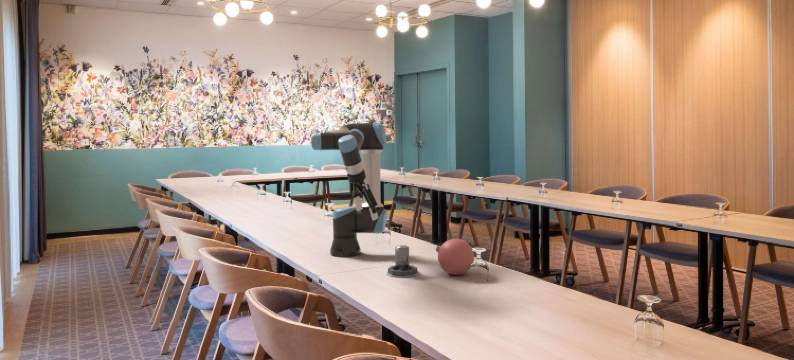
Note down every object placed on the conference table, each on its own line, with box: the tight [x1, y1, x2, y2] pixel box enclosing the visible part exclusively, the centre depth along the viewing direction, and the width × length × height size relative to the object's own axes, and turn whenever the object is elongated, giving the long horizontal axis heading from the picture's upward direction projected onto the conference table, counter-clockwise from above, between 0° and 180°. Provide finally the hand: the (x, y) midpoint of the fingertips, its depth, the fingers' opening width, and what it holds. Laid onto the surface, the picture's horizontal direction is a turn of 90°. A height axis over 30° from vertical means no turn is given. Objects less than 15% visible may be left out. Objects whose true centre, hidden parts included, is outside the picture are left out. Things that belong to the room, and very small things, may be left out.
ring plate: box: [386, 264, 420, 279], centre depth 266 cm, size 14×14×2 cm
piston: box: [394, 244, 410, 271], centre depth 266 cm, size 6×6×11 cm
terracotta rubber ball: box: [435, 238, 475, 276], centre depth 265 cm, size 15×20×15 cm
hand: (367, 214), depth 270 cm, fingers open, 13 cm apart
